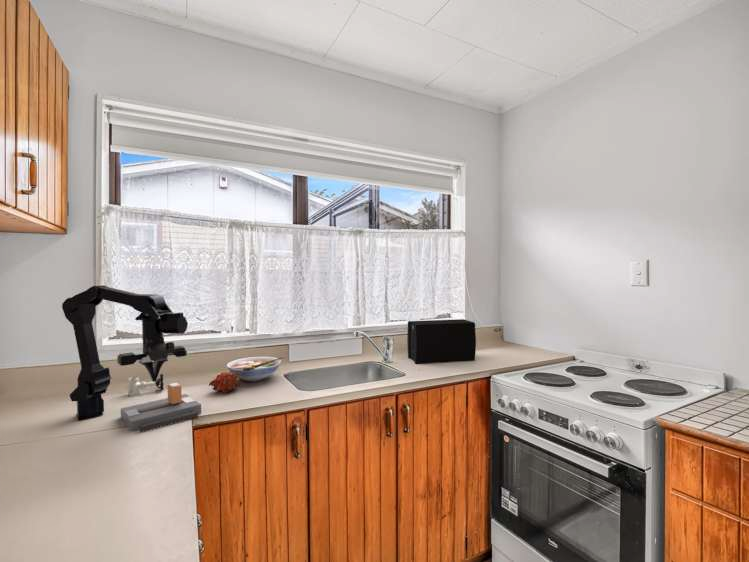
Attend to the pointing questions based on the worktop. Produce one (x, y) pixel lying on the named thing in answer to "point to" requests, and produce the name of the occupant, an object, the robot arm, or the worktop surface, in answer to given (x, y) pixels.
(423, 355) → the uninterruptible power supply
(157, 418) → the panel
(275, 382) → the worktop surface
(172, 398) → the orange rectangular block
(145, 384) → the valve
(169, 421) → the grey slab
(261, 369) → the ramen bowl
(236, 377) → the dragon fruit
